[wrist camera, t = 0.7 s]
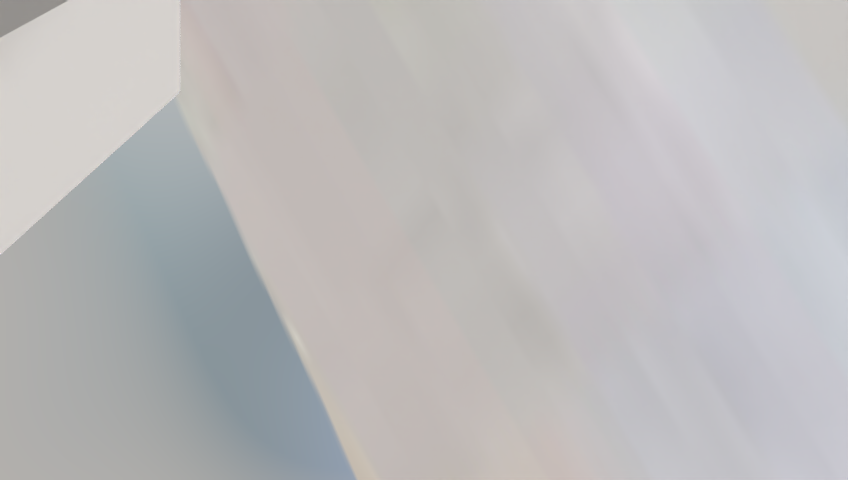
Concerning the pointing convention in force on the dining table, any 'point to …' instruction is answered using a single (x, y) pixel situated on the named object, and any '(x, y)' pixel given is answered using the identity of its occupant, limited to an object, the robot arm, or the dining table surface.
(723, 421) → the dining table surface
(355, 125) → the dining table surface
